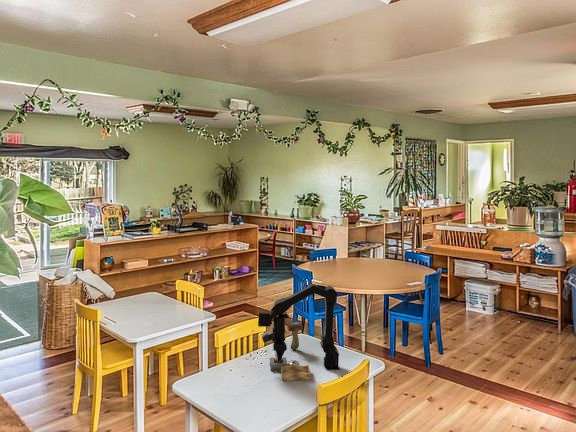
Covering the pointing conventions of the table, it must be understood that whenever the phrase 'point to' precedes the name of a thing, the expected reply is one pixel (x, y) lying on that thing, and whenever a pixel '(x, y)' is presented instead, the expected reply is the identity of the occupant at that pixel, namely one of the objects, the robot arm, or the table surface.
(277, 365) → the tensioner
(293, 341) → the mushroom
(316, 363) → the table surface
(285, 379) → the tray
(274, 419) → the table surface
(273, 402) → the table surface
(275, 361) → the pin
